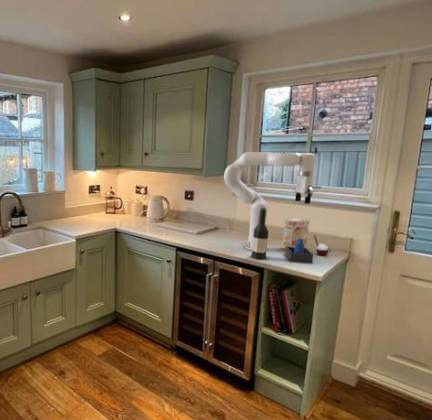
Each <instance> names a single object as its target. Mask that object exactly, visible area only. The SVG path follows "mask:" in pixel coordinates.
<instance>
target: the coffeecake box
mask: <svg viewBox="0 0 432 420" xmlns="http://www.w3.org/2000/svg"><path fill="white" fill-rule="evenodd" d="M309 228H310V219H308V218H302V217H298V218H296V217H295V218H288V219H287V218H286V219H284V228H283V237H282V246H281V249H283V250H286V247H295V243H297V239H298V238H300V239H303V244H305V246H304V248H307V243H308V235H309Z"/></svg>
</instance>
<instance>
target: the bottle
mask: <svg viewBox="0 0 432 420" xmlns="http://www.w3.org/2000/svg"><path fill="white" fill-rule="evenodd" d="M304 246H305V244H303V239H300V238H298V239H297V243H295V248H294V253H304Z"/></svg>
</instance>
